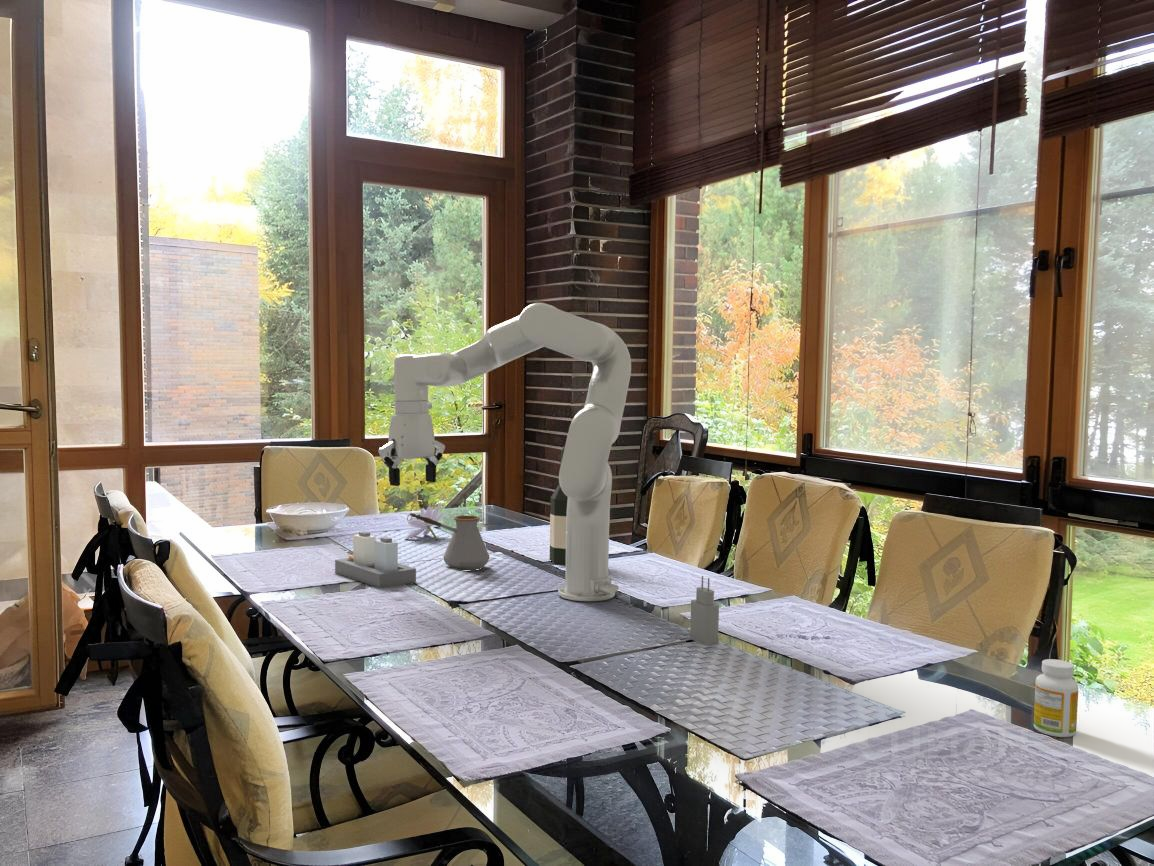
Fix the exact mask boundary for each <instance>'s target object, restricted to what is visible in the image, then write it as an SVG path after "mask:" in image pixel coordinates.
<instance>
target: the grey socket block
mask: <svg viewBox="0 0 1154 866" xmlns="http://www.w3.org/2000/svg"><path fill="white" fill-rule="evenodd" d="M334 568H335V569H334V573H335V574H338V575H340V576H344V577H347V578H350V579H353V580H355V581H357V582H358V581H359V582H361V583H364V584H367V585H370V586H372V587H376V588H378V589H381V588H387V587H394V586H399V585H400V586H401V585H406V584H410V583H416V582H417V568H415V567H412V566H408V565H405V564H401V563H399V562H398V570H393V571H387V572H382V571H379V570H376V569H375V563H373V564H366V565H361V564H357V563H354V562H353V554H350V555H348V557H345V558H339V559H335V560H334Z"/></svg>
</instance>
